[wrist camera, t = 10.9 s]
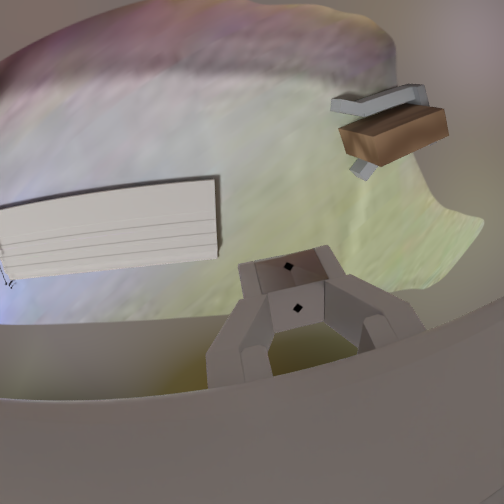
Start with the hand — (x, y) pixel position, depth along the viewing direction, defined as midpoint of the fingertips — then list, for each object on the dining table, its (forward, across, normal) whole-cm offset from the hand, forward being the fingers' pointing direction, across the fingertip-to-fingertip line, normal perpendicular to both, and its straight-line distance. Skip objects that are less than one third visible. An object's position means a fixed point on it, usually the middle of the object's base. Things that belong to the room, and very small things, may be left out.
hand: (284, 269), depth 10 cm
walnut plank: (+29, -20, +5) cm, 36 cm away
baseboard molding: (+25, +19, +10) cm, 33 cm away
